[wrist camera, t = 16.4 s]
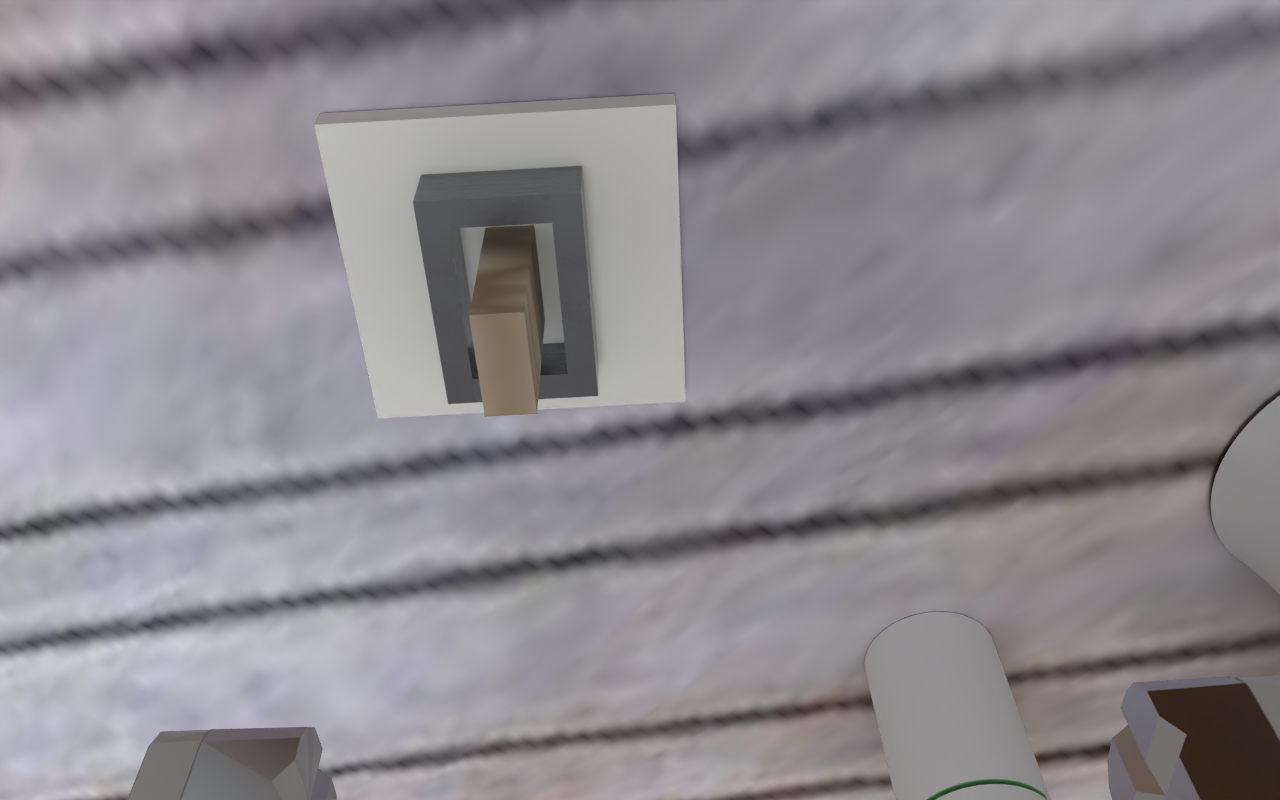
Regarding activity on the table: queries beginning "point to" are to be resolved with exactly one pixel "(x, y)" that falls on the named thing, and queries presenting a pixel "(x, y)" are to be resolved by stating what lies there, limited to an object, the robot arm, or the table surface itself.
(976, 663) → the cylindrical container
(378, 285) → the plate
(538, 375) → the wooden block
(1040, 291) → the table surface
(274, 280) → the table surface
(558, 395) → the frame
